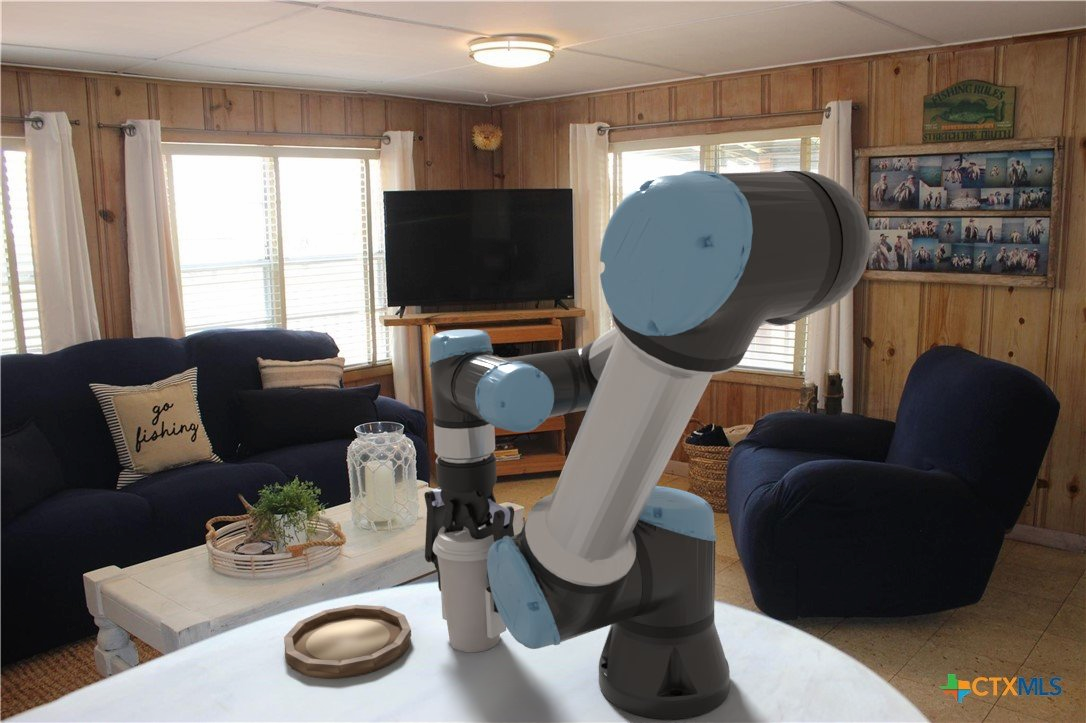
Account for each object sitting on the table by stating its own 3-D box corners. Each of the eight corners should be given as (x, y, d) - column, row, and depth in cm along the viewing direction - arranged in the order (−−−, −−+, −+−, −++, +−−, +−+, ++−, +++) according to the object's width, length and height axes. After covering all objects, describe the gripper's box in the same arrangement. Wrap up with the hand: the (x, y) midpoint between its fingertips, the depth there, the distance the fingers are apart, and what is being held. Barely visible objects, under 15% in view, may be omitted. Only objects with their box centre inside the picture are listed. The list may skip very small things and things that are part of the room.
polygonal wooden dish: (435, 639, 117) (434, 627, 116) (336, 693, 105) (335, 678, 105) (359, 606, 127) (358, 594, 126) (260, 651, 115) (259, 638, 115)
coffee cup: (515, 623, 121) (512, 517, 118) (506, 659, 111) (501, 545, 108) (446, 621, 122) (440, 516, 119) (430, 657, 112) (424, 544, 109)
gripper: (547, 460, 108) (552, 636, 112) (432, 435, 121) (440, 593, 125) (505, 476, 102) (512, 660, 107) (389, 448, 115) (399, 613, 120)
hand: (473, 624), depth 116 cm, fingers closed on coffee cup, 7 cm apart
